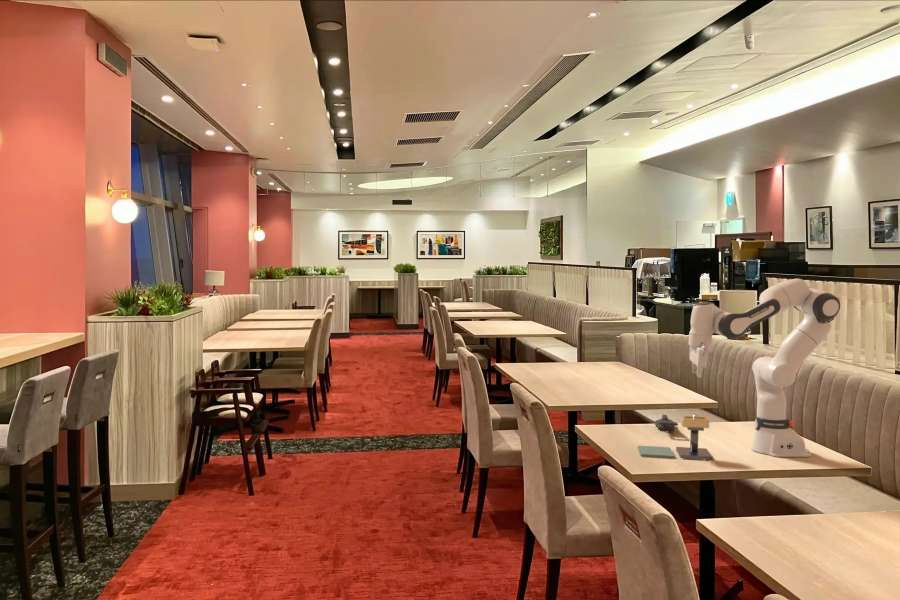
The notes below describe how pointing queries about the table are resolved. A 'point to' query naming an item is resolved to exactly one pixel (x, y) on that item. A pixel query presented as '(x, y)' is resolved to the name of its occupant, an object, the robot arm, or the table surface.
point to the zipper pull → (665, 424)
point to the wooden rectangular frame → (695, 422)
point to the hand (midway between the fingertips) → (696, 375)
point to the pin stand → (694, 447)
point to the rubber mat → (656, 451)
